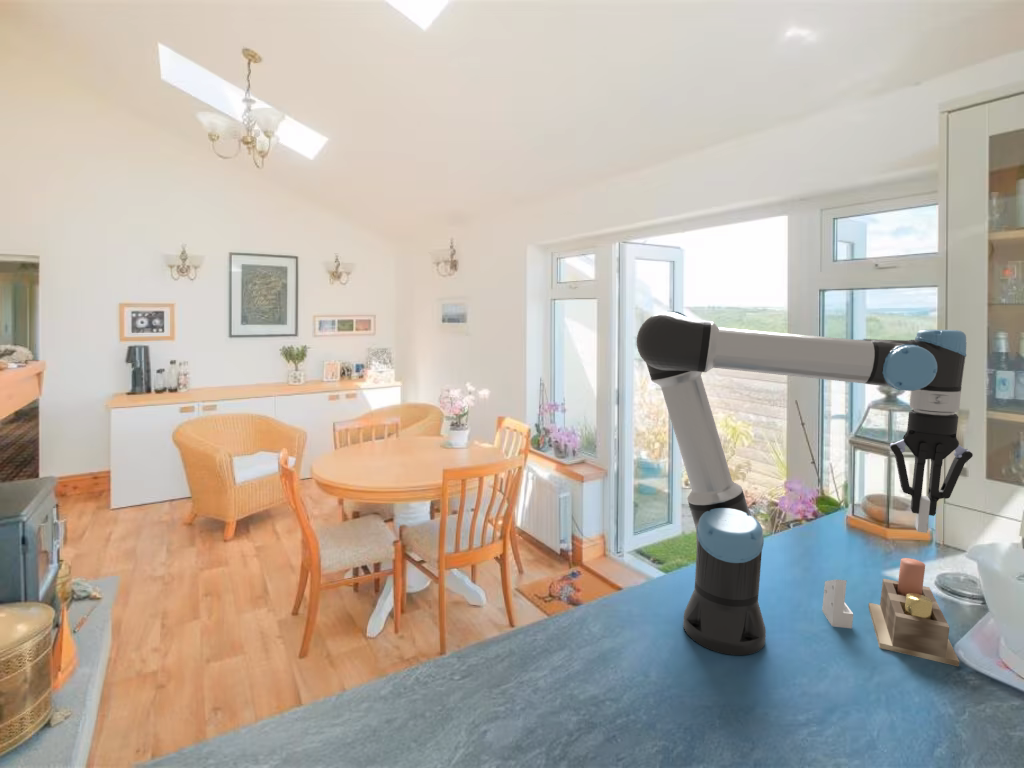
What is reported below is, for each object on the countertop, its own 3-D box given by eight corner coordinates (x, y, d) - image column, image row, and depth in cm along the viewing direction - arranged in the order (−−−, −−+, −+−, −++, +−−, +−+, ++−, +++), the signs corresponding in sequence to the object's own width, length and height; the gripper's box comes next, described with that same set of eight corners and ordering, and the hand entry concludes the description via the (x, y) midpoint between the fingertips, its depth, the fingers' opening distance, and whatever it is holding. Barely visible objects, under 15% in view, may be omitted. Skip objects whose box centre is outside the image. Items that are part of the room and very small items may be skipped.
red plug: (898, 602, 111) (902, 564, 110) (894, 593, 114) (899, 556, 113) (922, 607, 109) (927, 568, 108) (918, 597, 113) (922, 560, 112)
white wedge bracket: (841, 627, 107) (836, 579, 110) (823, 625, 116) (819, 582, 119) (862, 629, 106) (856, 581, 109) (842, 627, 115) (838, 583, 119)
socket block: (879, 647, 105) (883, 613, 104) (868, 607, 119) (871, 576, 118) (958, 666, 99) (963, 630, 98) (937, 621, 113) (941, 589, 112)
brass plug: (903, 640, 104) (908, 601, 103) (900, 629, 108) (904, 591, 107) (929, 646, 103) (934, 606, 101) (925, 635, 106) (929, 596, 105)
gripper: (894, 411, 105) (883, 530, 108) (982, 417, 99) (967, 543, 102) (889, 405, 111) (879, 517, 115) (971, 410, 105) (958, 529, 108)
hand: (920, 529), depth 108 cm, fingers closed
